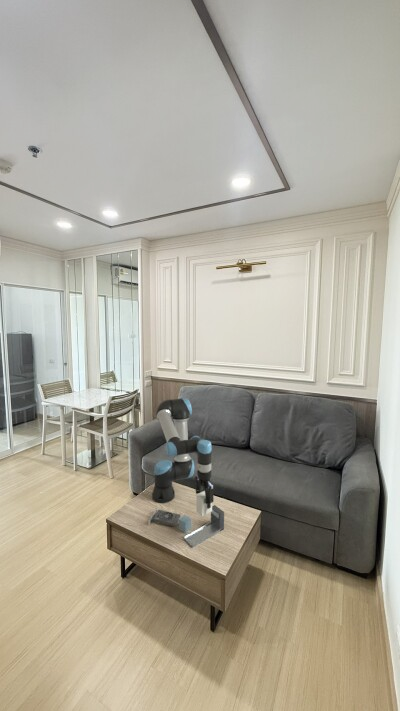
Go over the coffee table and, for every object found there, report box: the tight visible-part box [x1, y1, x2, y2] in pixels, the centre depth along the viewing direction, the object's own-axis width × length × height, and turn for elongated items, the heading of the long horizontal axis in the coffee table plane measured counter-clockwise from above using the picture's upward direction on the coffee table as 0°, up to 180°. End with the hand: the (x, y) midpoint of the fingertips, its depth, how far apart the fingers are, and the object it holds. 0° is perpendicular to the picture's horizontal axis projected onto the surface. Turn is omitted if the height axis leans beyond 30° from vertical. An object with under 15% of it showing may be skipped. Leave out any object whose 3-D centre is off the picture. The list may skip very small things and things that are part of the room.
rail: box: [183, 504, 225, 549], centre depth 158 cm, size 8×22×10 cm, turn 128°
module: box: [195, 490, 213, 517], centre depth 156 cm, size 5×7×10 cm
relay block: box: [178, 514, 192, 534], centre depth 162 cm, size 5×5×6 cm
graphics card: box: [147, 507, 181, 527], centre depth 168 cm, size 17×4×12 cm
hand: (204, 510), depth 157 cm, fingers closed on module, 5 cm apart
